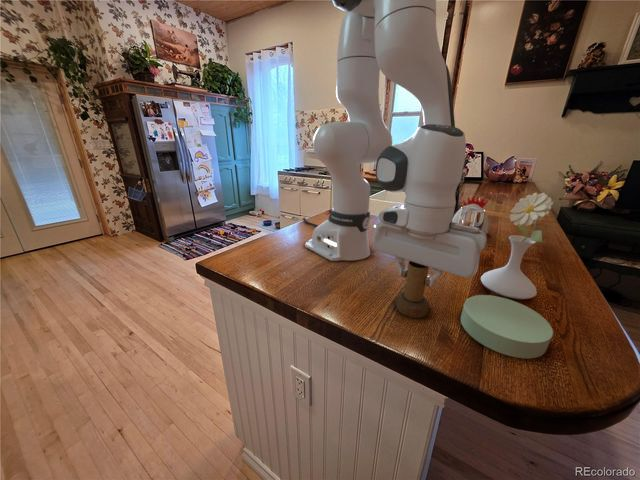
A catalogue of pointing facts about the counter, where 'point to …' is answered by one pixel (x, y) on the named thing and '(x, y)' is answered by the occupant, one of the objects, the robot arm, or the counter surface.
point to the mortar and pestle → (414, 292)
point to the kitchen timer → (477, 205)
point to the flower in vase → (519, 249)
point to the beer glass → (472, 217)
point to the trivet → (506, 326)
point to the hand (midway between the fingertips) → (415, 280)
